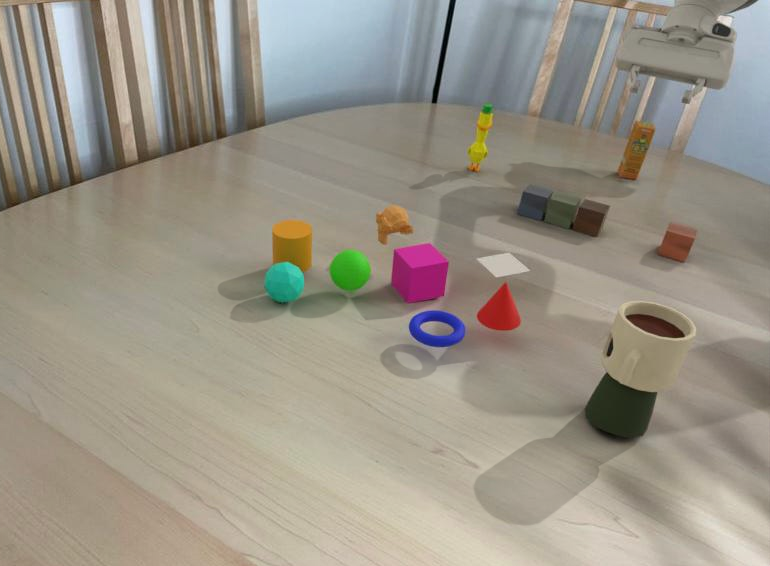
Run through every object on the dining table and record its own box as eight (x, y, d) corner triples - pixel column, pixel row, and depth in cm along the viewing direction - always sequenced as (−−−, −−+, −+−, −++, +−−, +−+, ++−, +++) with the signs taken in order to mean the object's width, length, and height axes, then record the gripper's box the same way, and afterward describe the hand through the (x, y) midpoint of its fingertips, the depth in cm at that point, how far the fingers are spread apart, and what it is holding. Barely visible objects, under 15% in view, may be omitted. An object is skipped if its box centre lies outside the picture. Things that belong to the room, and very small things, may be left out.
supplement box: (619, 177, 139) (637, 125, 134) (616, 171, 142) (634, 119, 136) (637, 180, 139) (656, 128, 133) (635, 174, 142) (653, 122, 136)
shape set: (238, 265, 103) (236, 217, 98) (463, 227, 112) (470, 182, 108) (312, 395, 80) (313, 341, 76) (585, 334, 90) (599, 283, 85)
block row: (523, 206, 124) (529, 183, 122) (688, 252, 114) (698, 229, 112) (516, 214, 121) (522, 191, 119) (684, 262, 112) (695, 238, 109)
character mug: (600, 386, 84) (640, 285, 76) (664, 415, 80) (712, 313, 73) (560, 431, 76) (599, 325, 69) (628, 466, 73) (677, 358, 65)
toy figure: (467, 161, 140) (481, 96, 133) (486, 164, 139) (501, 100, 133) (462, 173, 135) (476, 106, 128) (481, 176, 134) (497, 110, 127)
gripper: (631, 12, 143) (604, 74, 141) (747, 32, 135) (720, 98, 133) (627, 33, 148) (602, 93, 147) (738, 54, 141) (713, 117, 139)
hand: (659, 96), depth 140 cm, fingers open, 8 cm apart
